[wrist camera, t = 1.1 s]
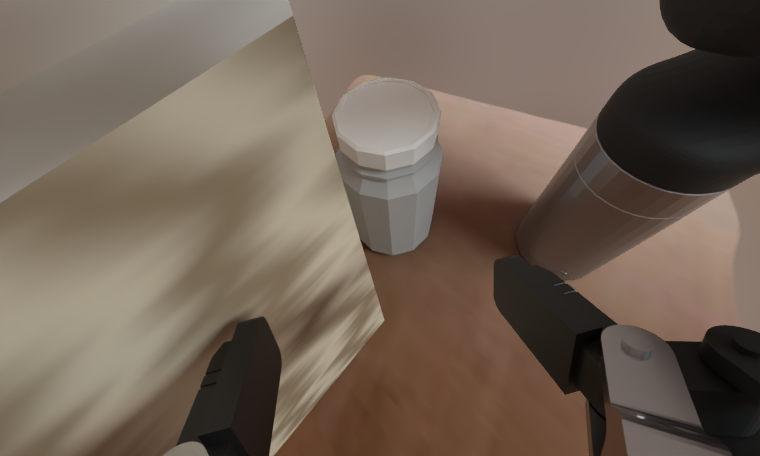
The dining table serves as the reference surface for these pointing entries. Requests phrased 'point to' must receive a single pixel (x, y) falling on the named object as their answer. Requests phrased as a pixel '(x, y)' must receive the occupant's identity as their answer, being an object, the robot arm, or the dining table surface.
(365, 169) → the jar
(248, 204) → the beige zigzag box
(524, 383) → the dining table surface
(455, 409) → the dining table surface
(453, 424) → the dining table surface
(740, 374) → the robot arm
